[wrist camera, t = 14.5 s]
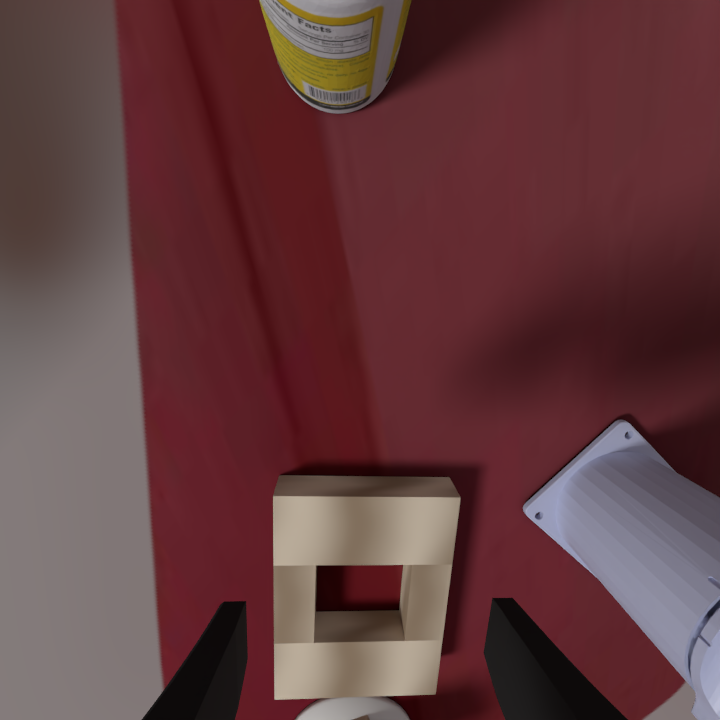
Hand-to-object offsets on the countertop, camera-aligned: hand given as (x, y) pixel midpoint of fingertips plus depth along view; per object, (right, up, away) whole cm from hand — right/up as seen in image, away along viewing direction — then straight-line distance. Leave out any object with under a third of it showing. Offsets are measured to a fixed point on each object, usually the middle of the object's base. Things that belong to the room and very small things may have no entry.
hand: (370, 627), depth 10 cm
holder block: (0, -6, +12) cm, 13 cm away
